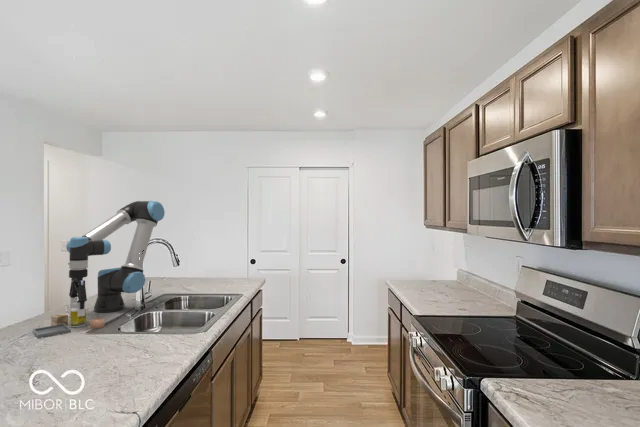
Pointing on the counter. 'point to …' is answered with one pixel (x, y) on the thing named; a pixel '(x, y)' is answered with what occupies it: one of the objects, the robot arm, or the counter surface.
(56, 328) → the slate tray
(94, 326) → the brown egg
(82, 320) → the pill bottle
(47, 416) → the counter surface
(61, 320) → the cork block
